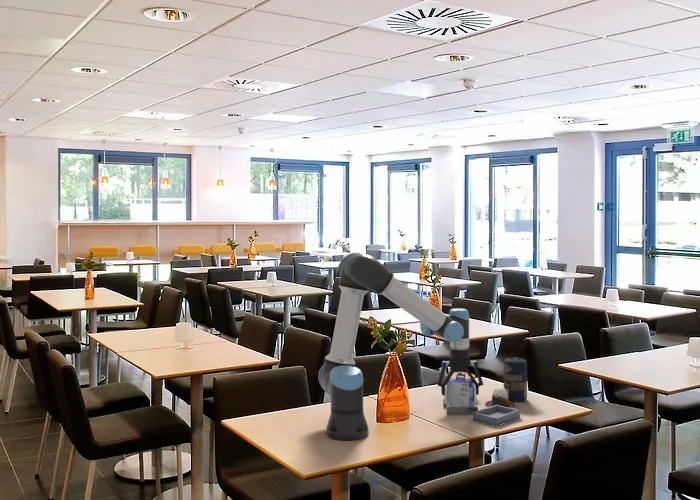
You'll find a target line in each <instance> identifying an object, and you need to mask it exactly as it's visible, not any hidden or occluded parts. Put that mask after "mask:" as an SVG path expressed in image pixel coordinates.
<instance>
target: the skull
mask: <svg viewBox="0 0 700 500" xmlns="http://www.w3.org/2000/svg"><path fill="white" fill-rule="evenodd" d="M484 404H485V406H486V408H488V407H491V406H494V405H500V406H504V407H508V408H512V409H515V408H516V406H517V405H516V403H515V401H509V400H508V394H507V391H506V390H505V389H504V387H502V386H498V387H496V388H494V390H493V393H492V395H491V400H488V401H486V402H485V403H484Z"/></svg>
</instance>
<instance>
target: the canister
mask: <svg viewBox="0 0 700 500" xmlns="http://www.w3.org/2000/svg"><path fill="white" fill-rule="evenodd" d="M503 388H504V389H505V390H506V391H507V394H508V401H511V402H523V401H526V400H527V397H528V362H527V360H526V359H524V358H521V357H517V356H516V357H508V358H505V359H504V361H503Z"/></svg>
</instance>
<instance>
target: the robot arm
mask: <svg viewBox="0 0 700 500" xmlns="http://www.w3.org/2000/svg"><path fill="white" fill-rule="evenodd" d="M338 274H339V280H338V281H339V282H338V287H339V289H340V290H341V291H340V298H339V304H338V308H337V315H336V318H335V319H336V320H335V325H334V331H333V336H332V341H331V345H330V352H329V354H327V355H326V356H325V357H324V360H323V365H322V366H321V367H320V369H319V370H318V376H317V377H318V382H319V385H320V386H321V388H322V389H323V391H324V392H325V393H327V394H328V395H329V396H330V415H329V418H328V422H327V424H326V429H325V431H326V432H325V433H326V434H327V435H328V436H329V437H328V436H327V435H326V436H327V437H328V438H330V437H331V438H330V439H332V438H333V440H337V441H356V440H360V439H361V440H362V439H363V438H366V437H367V436H369V432H370V431H369V425H368V421H367V419H366V416H365V413H364V376H363V375H364V374H363V372H362V370H361V369H360V368H359V367H356V361H355V360H354V358H353V355H354V350H355V345H356V340H357V334H358V328H359V323H360V318H361V313H362V307H363V301H364V297H365V295H366V294H368V293H369V291H372V292H373V293H375V294H376V295H382V296H384V297H385V298H387V299H388V300H389V301H391V302H392V303H394V304H395V305H396V306H398V308H399V307H400V309H402V310H404V311H405V312H406V313H407V314H410V315H411V316H412V317H414V319H416V320H418V321H419V322H420V324H419V327H420V331H421V334H422V335H423V336H430V337H431V336H436V337H439V338H441V339H444V340H446V341H447V342H449V347H450V349H449V360H447V361H445V360H442V361H441V369H440V372H439V375H438V379H437V382H436V385H437V386H438V387H441V396H444V397H443V399H444V403H445V404H447V387H446V384H447V383H448V381H449V379H450V378H451V376H452V375H453V374H454V372H459V371H461V372H464V373H467V374H468V375H469V377H470V378H471V380H472V381H473V383H474V384H475V386H474V405H477V396H478V395H479V393H480V392H479V391H480V389H479V388H480V387H481V386H484V381H483V378H482V376H481V373H480V370H479V368H478V367H479V366H478V364H479V363H478V361H477V360H470V313H469V310H468V309H466V308H452V309H450V310H449V313H448V314H445V313H444V312H443V311H441V310H440V309H438V308H437V307H435V305H433V304H431V303H430V302H429V301H427V300H426V299H425V298H423V297H422V296H421V295H419V294H418V293H417V292H415V291H414V290H413V289H412V288H410V287H408V286H407V285H405V284H404V283H403V282H401V281H400V280H399V279H398V278H396V277H395V276H394V272H393V271H391V270H390V269H389V268H388V267H386V266H385V265H384V264H383V263H381V262H380V261H379V260H378V259H376V258H375V257H374V256H372V255H370V254H365V253H361V252H352V253H348V254H347V255H345V256H344V257H343V258H341V260H340V262H339V264H338ZM470 365H471V366H472V367H473V369H474V372H475V374H476V375H475V376H476V377H477V380H478V382H477V380H476V378H475V379H474V377H473V376H472V374H473V373H471V371H470V370H469V367H470ZM448 366H450V367H451V368H450V370H449V371H448V373H446V374H447V376H446V375H445V372H446V369H447V367H448ZM444 376H446V377H445V378H444ZM443 378H444V379H443Z"/></svg>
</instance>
